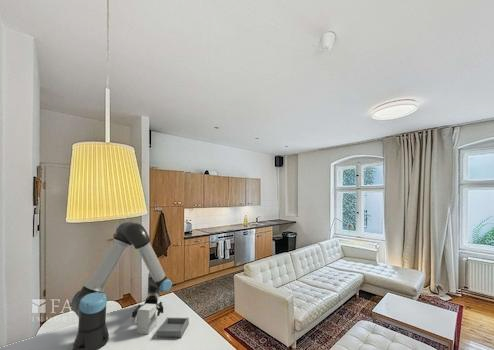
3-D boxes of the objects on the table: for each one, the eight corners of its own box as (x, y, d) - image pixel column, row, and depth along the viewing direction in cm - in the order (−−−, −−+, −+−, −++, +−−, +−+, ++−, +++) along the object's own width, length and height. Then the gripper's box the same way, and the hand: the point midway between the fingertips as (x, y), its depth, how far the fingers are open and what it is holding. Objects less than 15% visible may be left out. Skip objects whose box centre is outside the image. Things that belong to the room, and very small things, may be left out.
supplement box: (148, 334, 121) (149, 310, 122) (136, 333, 123) (137, 309, 124) (156, 326, 128) (157, 304, 129) (145, 325, 130) (145, 303, 131)
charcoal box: (157, 337, 118) (157, 330, 119) (167, 323, 131) (167, 317, 132) (180, 338, 118) (180, 331, 118) (188, 324, 131) (188, 317, 131)
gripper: (169, 304, 146) (167, 323, 125) (132, 309, 140) (123, 330, 119) (169, 292, 147) (167, 309, 125) (132, 297, 141) (123, 315, 119)
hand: (145, 319), depth 122 cm, fingers closed on supplement box, 9 cm apart
